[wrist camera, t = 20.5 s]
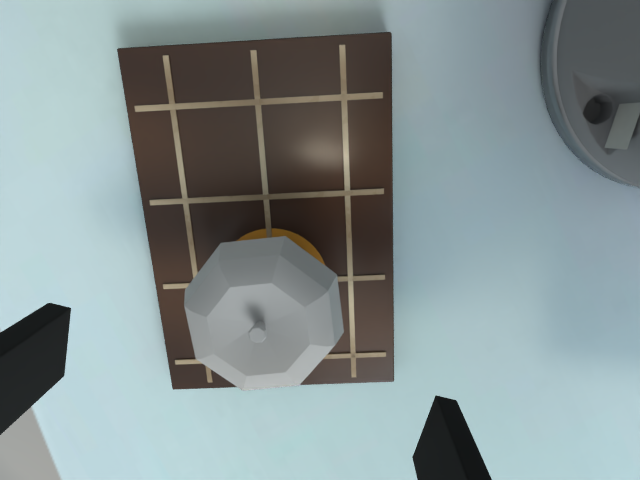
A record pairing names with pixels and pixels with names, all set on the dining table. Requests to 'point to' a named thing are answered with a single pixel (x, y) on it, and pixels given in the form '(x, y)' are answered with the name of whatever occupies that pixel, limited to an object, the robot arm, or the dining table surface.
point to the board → (270, 176)
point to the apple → (263, 313)
